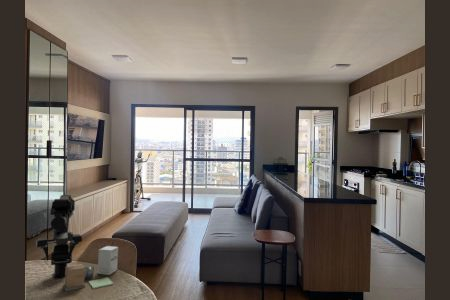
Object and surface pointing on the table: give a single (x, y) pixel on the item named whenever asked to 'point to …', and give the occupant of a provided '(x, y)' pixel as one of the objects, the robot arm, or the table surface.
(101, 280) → the sage mat
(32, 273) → the table surface
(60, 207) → the robot arm
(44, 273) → the table surface
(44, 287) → the table surface
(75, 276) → the tan box
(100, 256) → the supplement box
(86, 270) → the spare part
